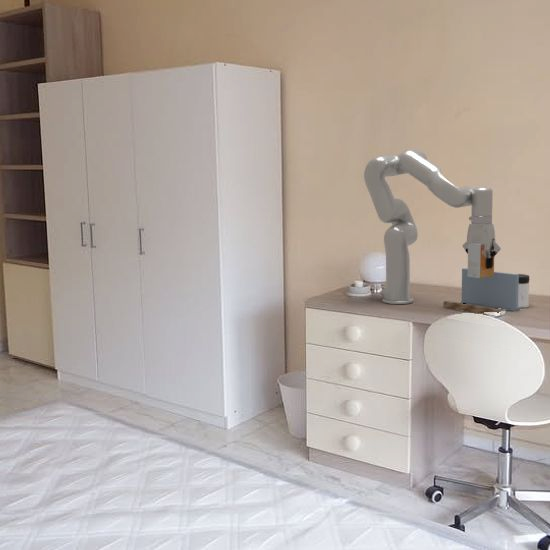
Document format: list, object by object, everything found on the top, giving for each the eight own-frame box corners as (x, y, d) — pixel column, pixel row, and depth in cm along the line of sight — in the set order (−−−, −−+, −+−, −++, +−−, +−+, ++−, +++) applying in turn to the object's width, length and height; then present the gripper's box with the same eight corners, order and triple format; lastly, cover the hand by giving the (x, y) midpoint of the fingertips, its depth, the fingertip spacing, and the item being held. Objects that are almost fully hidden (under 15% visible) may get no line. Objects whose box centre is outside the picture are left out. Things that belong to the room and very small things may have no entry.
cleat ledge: (443, 307, 280) (443, 301, 280) (445, 307, 281) (445, 300, 281) (498, 316, 262) (498, 310, 262) (500, 316, 263) (500, 309, 263)
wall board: (461, 303, 288) (461, 268, 286) (465, 302, 290) (466, 267, 288) (515, 311, 270) (516, 274, 268) (519, 310, 272) (520, 273, 270)
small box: (480, 278, 269) (480, 244, 267) (467, 276, 274) (467, 242, 272) (494, 276, 273) (495, 242, 271) (481, 274, 278) (481, 241, 276)
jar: (512, 308, 275) (513, 277, 273) (501, 304, 283) (502, 274, 281) (533, 307, 277) (534, 276, 275) (522, 303, 285) (522, 273, 283)
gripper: (456, 220, 274) (455, 266, 277) (496, 222, 261) (495, 270, 264) (467, 218, 279) (467, 264, 282) (507, 220, 266) (506, 268, 269)
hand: (480, 266), depth 273 cm, fingers closed on small box, 6 cm apart
